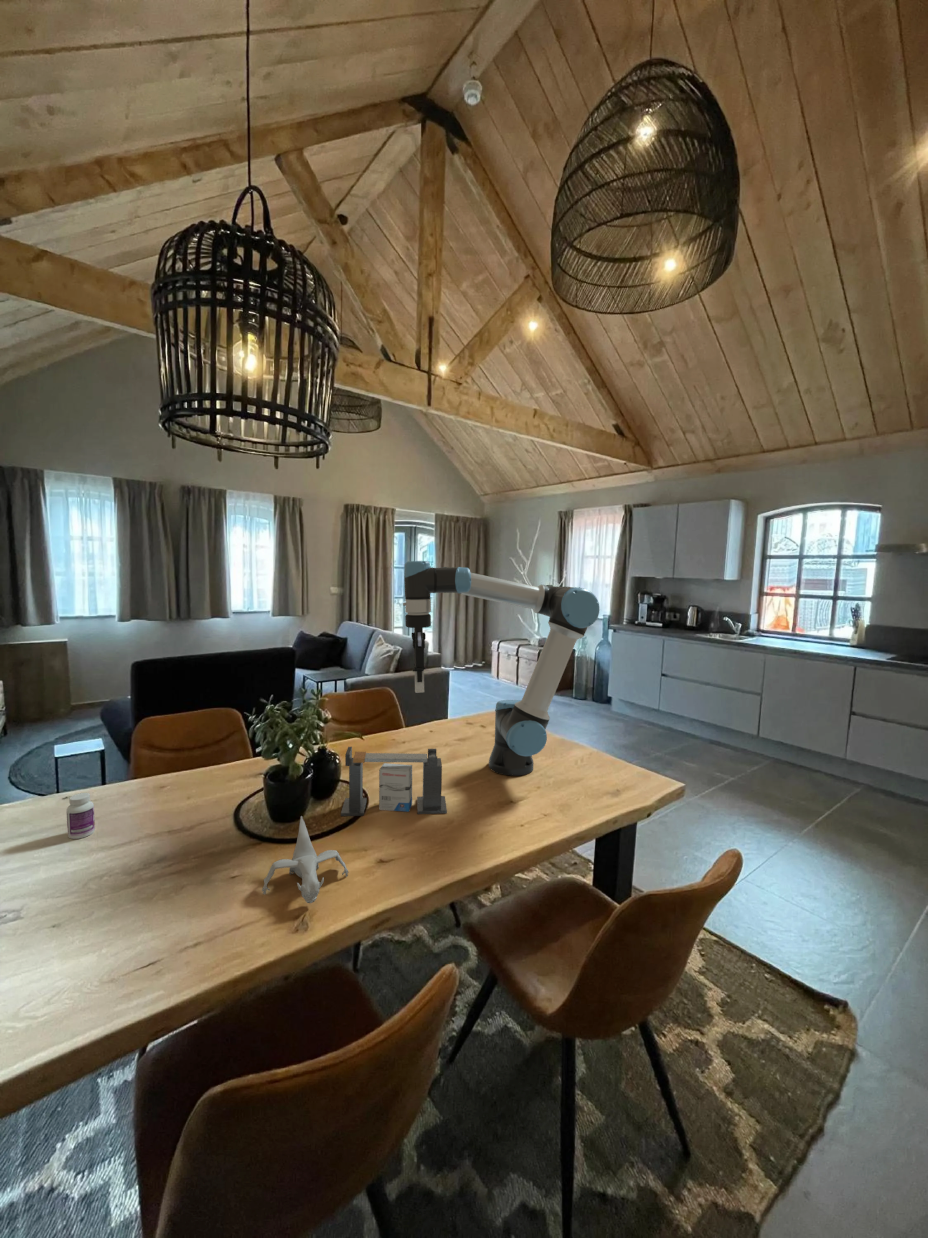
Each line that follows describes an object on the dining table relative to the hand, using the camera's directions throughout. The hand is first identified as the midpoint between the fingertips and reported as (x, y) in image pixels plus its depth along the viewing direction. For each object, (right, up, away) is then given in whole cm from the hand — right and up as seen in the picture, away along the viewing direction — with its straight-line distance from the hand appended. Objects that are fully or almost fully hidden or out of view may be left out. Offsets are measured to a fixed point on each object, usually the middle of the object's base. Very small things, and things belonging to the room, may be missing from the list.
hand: (419, 691), depth 151 cm
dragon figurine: (-20, -34, -44) cm, 59 cm away
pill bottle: (-80, -31, -27) cm, 90 cm away
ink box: (-6, -31, -10) cm, 33 cm away
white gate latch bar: (-6, -18, -11) cm, 22 cm away
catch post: (-17, -31, -11) cm, 37 cm away
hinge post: (+4, -31, -9) cm, 33 cm away
